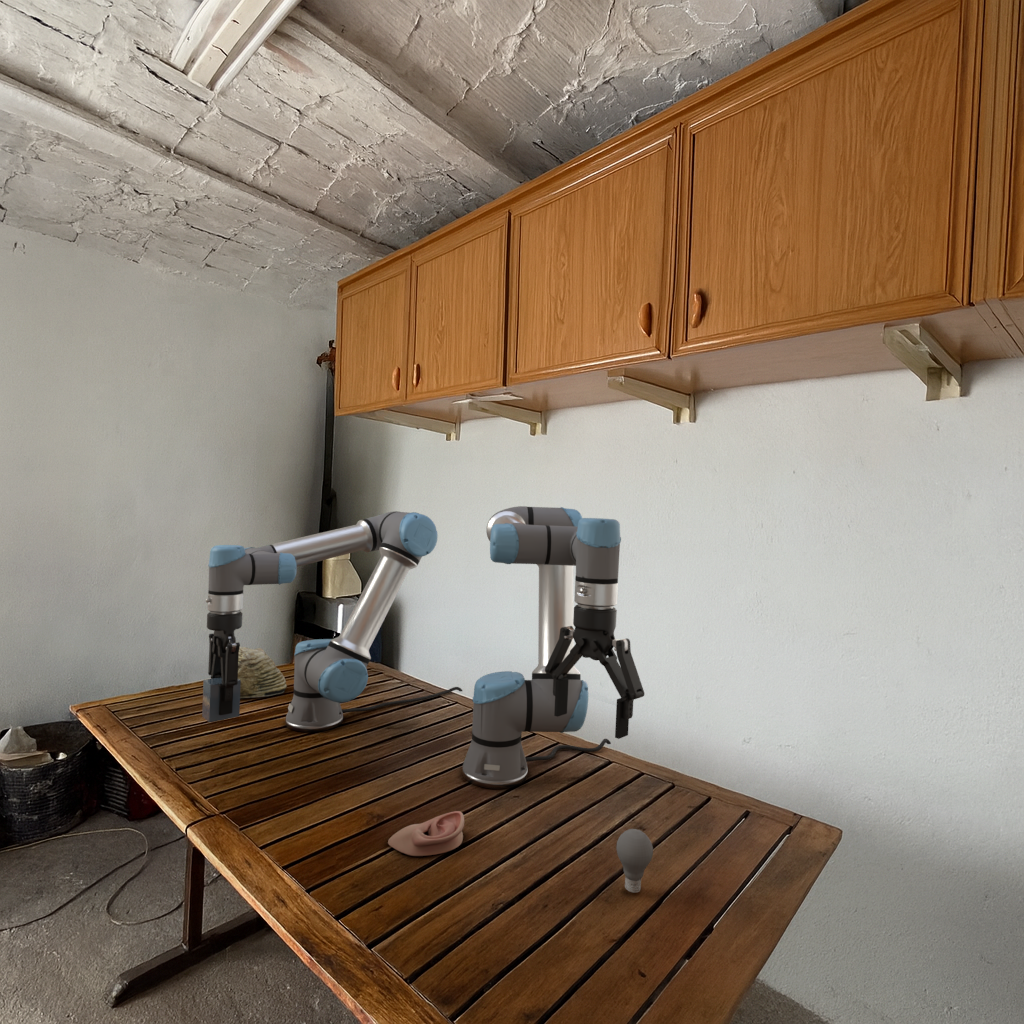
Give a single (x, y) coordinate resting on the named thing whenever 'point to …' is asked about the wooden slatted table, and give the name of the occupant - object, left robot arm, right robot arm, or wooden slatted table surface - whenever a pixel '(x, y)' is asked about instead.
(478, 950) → the wooden slatted table surface
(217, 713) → the brick
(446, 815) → the anatomical model
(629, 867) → the light bulb
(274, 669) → the fossil
